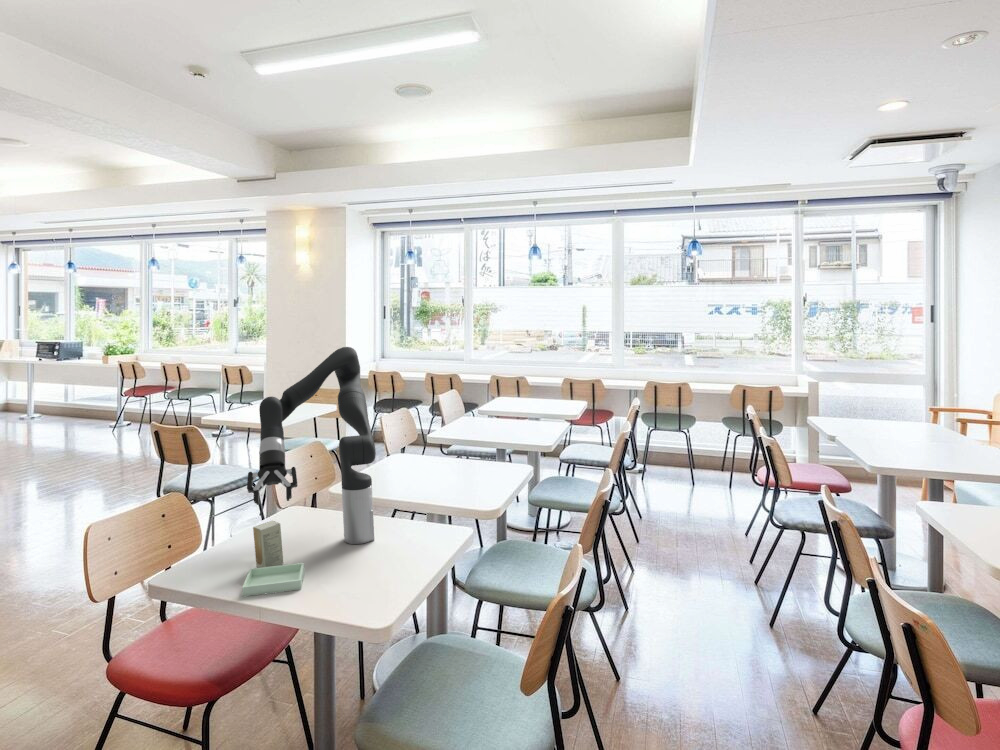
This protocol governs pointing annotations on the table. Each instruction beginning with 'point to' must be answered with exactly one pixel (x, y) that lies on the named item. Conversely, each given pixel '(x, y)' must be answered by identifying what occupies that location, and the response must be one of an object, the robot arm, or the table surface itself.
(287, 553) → the table surface
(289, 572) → the tray
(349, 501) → the robot arm
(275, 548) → the skincare box
